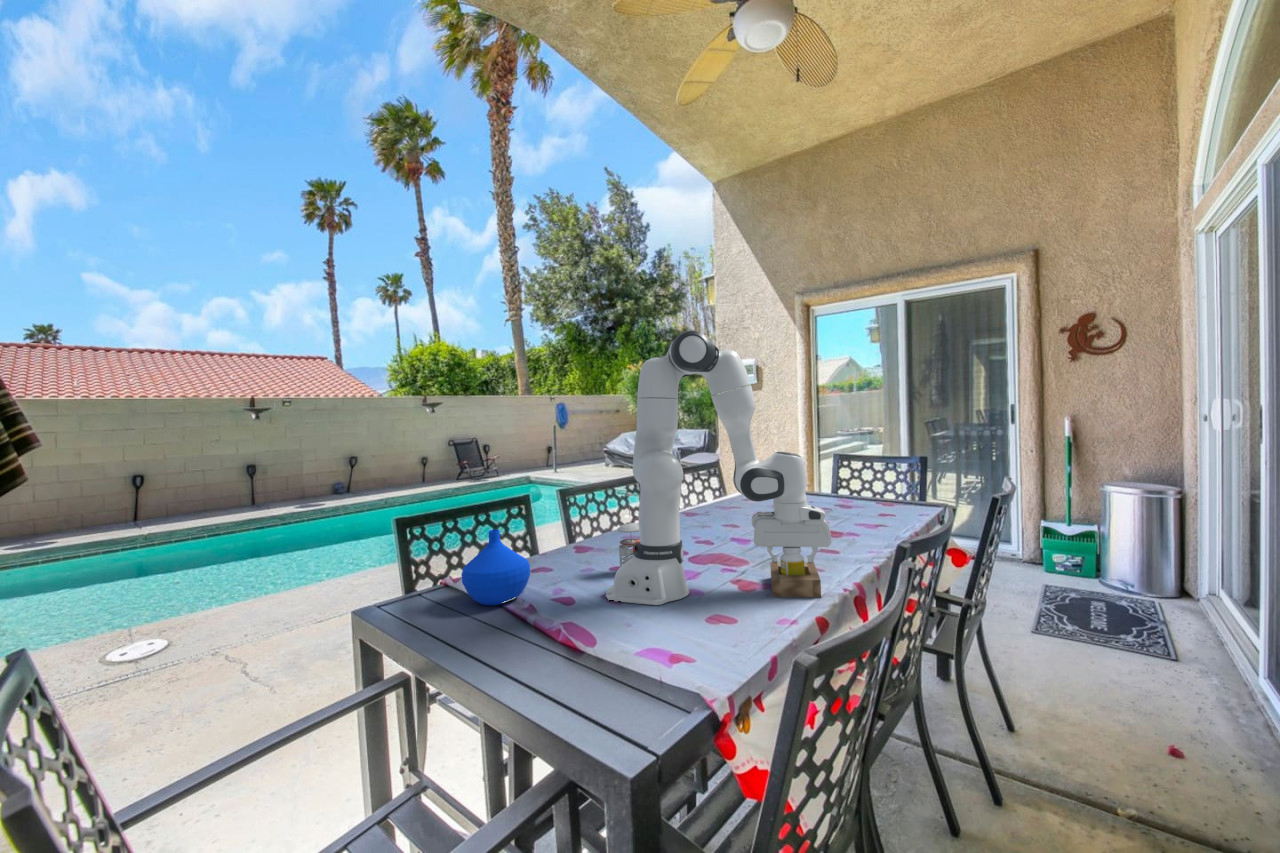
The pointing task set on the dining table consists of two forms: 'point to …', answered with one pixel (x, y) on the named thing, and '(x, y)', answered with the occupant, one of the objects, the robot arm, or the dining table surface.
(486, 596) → the vase
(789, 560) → the pill bottle
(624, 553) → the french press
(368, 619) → the dining table surface
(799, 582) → the box
